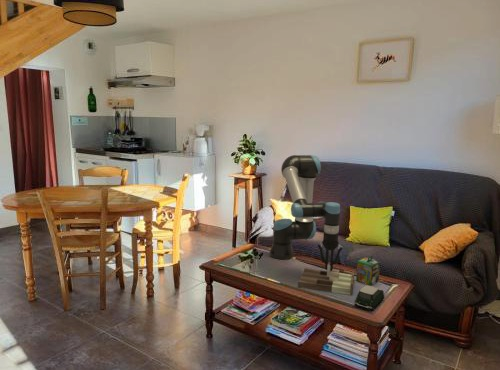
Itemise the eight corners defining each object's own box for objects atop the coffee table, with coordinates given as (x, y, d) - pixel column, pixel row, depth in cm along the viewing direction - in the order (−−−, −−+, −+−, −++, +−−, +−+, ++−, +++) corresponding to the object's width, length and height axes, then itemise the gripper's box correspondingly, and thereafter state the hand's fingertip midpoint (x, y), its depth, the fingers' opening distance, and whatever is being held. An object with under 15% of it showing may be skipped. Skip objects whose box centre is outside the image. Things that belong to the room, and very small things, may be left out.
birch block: (330, 277, 204) (330, 269, 203) (338, 278, 203) (339, 270, 202) (329, 280, 200) (329, 272, 199) (338, 281, 198) (338, 273, 198)
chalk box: (363, 276, 214) (365, 251, 212) (379, 281, 208) (381, 255, 205) (355, 280, 208) (357, 254, 205) (370, 286, 201) (373, 259, 199)
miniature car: (385, 299, 186) (386, 283, 185) (371, 313, 172) (373, 296, 171) (367, 294, 192) (368, 278, 191) (352, 306, 178) (353, 290, 176)
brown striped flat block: (304, 273, 216) (305, 263, 215) (353, 280, 208) (354, 269, 207) (298, 287, 197) (298, 276, 196) (352, 295, 189) (352, 283, 188)
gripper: (317, 232, 197) (315, 276, 200) (343, 235, 193) (340, 280, 196) (319, 229, 204) (317, 271, 207) (344, 231, 200) (341, 274, 203)
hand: (328, 275), depth 202 cm, fingers closed
